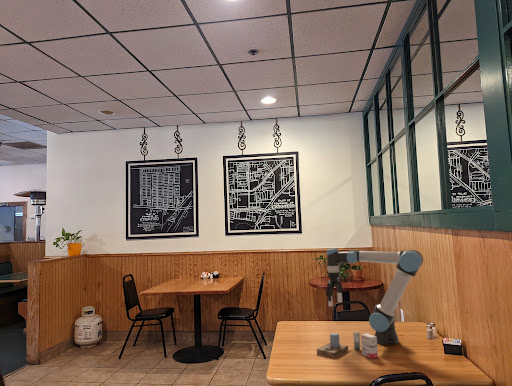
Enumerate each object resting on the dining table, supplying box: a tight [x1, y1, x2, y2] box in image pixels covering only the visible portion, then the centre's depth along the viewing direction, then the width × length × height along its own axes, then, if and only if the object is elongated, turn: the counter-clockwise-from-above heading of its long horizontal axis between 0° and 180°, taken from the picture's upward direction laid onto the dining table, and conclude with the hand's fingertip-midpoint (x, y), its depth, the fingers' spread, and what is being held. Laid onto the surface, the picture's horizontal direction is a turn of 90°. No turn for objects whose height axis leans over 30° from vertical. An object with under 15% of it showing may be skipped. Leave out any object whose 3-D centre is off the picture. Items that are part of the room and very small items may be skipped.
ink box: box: [360, 333, 379, 360], centre depth 215 cm, size 8×5×12 cm, turn 26°
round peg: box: [353, 331, 361, 351], centre depth 227 cm, size 4×4×10 cm
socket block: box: [316, 342, 349, 359], centre depth 222 cm, size 12×16×3 cm
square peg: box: [329, 332, 340, 348], centre depth 225 cm, size 4×4×10 cm
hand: (335, 304), depth 245 cm, fingers open, 13 cm apart
